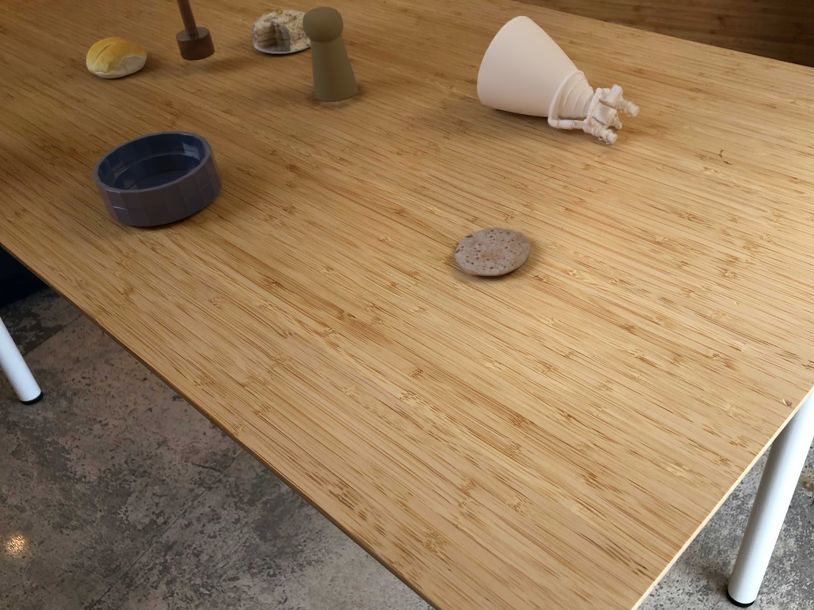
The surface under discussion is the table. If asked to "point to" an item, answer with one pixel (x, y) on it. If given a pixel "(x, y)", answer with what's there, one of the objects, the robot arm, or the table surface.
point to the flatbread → (492, 251)
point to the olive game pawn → (329, 55)
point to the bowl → (157, 178)
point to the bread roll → (115, 58)
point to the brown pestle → (193, 36)
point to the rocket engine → (545, 82)
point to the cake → (280, 32)
